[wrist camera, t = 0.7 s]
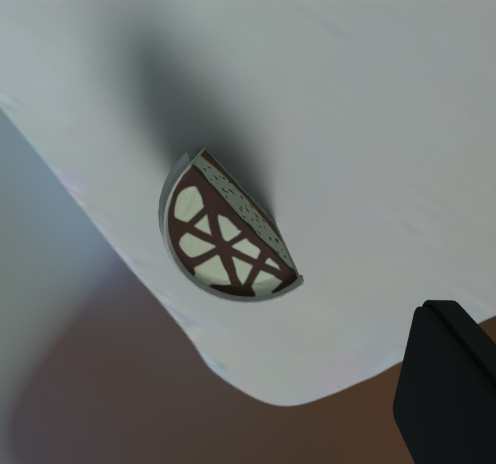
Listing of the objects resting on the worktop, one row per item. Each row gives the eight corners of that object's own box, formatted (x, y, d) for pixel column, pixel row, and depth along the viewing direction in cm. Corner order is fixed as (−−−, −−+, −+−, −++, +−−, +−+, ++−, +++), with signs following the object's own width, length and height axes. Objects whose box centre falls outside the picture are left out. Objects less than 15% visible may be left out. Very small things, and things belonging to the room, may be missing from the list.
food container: (138, 180, 37) (113, 222, 28) (192, 131, 36) (184, 158, 27) (235, 276, 41) (241, 340, 32) (286, 235, 40) (308, 289, 31)
